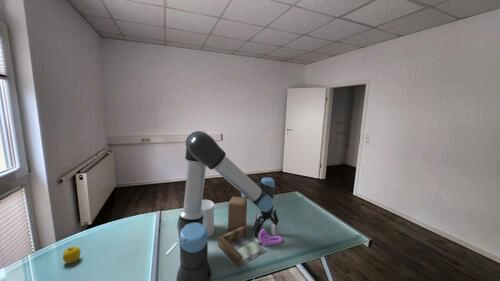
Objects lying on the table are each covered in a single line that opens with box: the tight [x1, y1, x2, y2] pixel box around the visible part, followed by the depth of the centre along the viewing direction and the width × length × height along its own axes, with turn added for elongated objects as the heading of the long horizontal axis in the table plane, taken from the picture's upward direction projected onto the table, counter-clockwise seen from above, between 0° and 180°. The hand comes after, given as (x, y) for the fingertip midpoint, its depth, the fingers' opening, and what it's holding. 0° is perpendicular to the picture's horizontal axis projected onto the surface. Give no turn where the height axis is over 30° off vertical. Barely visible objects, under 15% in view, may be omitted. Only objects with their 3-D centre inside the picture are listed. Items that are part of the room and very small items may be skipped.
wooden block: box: [227, 196, 248, 233], centre depth 123 cm, size 10×10×20 cm
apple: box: [62, 246, 81, 264], centre depth 94 cm, size 6×6×8 cm
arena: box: [217, 224, 267, 269], centre depth 106 cm, size 19×19×6 cm
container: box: [201, 199, 215, 238], centre depth 120 cm, size 14×14×18 cm
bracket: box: [259, 228, 283, 247], centre depth 113 cm, size 13×6×7 cm, turn 105°
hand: (265, 238), depth 116 cm, fingers open, 12 cm apart
